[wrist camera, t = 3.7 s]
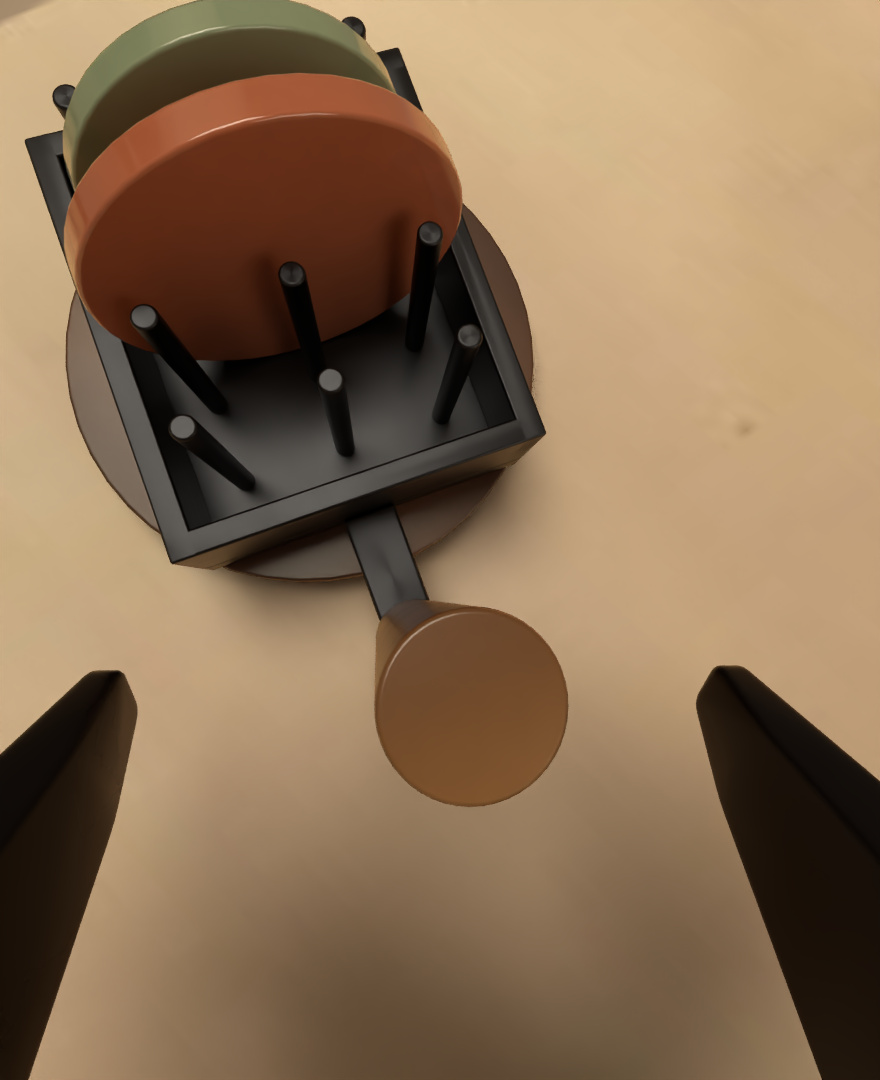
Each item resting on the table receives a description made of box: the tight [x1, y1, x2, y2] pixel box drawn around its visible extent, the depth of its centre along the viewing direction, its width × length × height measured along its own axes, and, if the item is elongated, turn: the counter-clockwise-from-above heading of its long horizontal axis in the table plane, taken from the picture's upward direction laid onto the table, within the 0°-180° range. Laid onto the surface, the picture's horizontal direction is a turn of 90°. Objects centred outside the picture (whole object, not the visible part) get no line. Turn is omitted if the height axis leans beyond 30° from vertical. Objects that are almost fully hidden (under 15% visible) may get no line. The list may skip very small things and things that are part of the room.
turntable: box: [66, 203, 533, 582], centre depth 18 cm, size 13×13×2 cm
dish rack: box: [25, 0, 568, 807], centre depth 11 cm, size 14×9×10 cm, turn 20°
